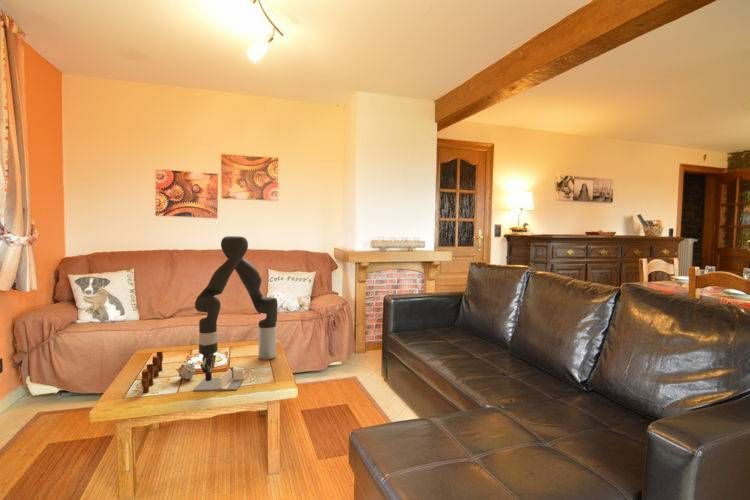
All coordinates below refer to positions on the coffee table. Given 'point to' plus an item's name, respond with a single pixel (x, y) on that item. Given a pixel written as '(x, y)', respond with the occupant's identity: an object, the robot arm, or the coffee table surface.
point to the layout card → (214, 385)
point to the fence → (151, 372)
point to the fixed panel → (238, 373)
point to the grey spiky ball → (186, 371)
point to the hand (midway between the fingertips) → (208, 380)
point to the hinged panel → (226, 378)
